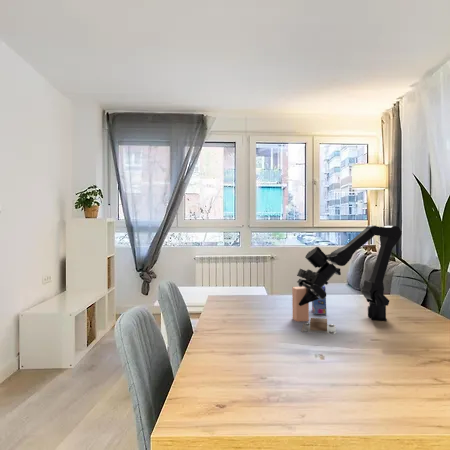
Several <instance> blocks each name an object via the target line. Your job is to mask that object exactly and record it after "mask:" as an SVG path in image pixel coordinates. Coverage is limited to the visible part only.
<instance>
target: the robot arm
mask: <svg viewBox="0 0 450 450" xmlns="http://www.w3.org/2000/svg"><path fill="white" fill-rule="evenodd" d="M402 234H403V233H402V229H401V228H400V227H399V226H397V225H385V226H377V225H371V224H370V225H367V226H366V227H365V228H364V229H363V230H362V231H361V232H359V234H357V235H356V236H355V237H353V238H352V239H351V240H350V241H349V242H347V244H345V245H344V246H341V247H338V248H337V249H335V250H333V251H331V253H329V254H326V253H324V251H323V250H322V249H321V248H320V247H319V246H315V248H313V249H311V250H310V251H308V252H307V253H306V255H305V260H307V261H308V262H309V263H310V264H311V265H312V266H313V267H314V268H315V269H316V268H319V269H318V270H316V271H313V270H312V269H309V268H308V269H307V270H305V269H301V268H299V270H298V272H297V274H296V276H297V277H300V278H299V279H298V280H297V281H296V283H297V284H298V287H306V294H305V295H304V297H303V298H302V299H301V301H300V302H299V305H300V306H302V305H304V304H307V303H309V304H310V303H312V301H315V300H317V299H319V298H318V297H319V296H320V299H322V300H323V299H324V298H325V297H326V298H327V292H325V291H324V290H323V289H322V287H323V286H325V285H326V286H328V285H329V282H328V281H329V280H330V279H331V278H332V277H333V276H334V275H338V276H341V268H339V267H336V266H340V267H344V266H346V265H347V264H348V263H349V262H350V260H352V259H353V258H352V257H353V256H354V254H355V253H356V252H357V251H358V250H359V249H361V247H363V246H364V245H365V244H367V242H369V241H370V240H371V239H373V237H374V236H378V237H379V243H380V246H379V250H378V253H377V257H376V260H375V263H374V267H373V269H372V273H371V276H370V278H369V279H368V280H364V282H363V287H362V288H361V290H362V295H363V297H364V298H365V300H366V302H368V306H367V317H368V319H371V320H373V321H387V320H388V319H387V307H388V306H389V304H390V300H389V299H388V297H387V296H385V284H384V280H385V275H386V272H387V269H388V267H389V263H390V260H391V255H392V252H393V249H394V248H395V246H396V245H397V244H398V243H399V241H400V240H401V237H402Z"/></svg>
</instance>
